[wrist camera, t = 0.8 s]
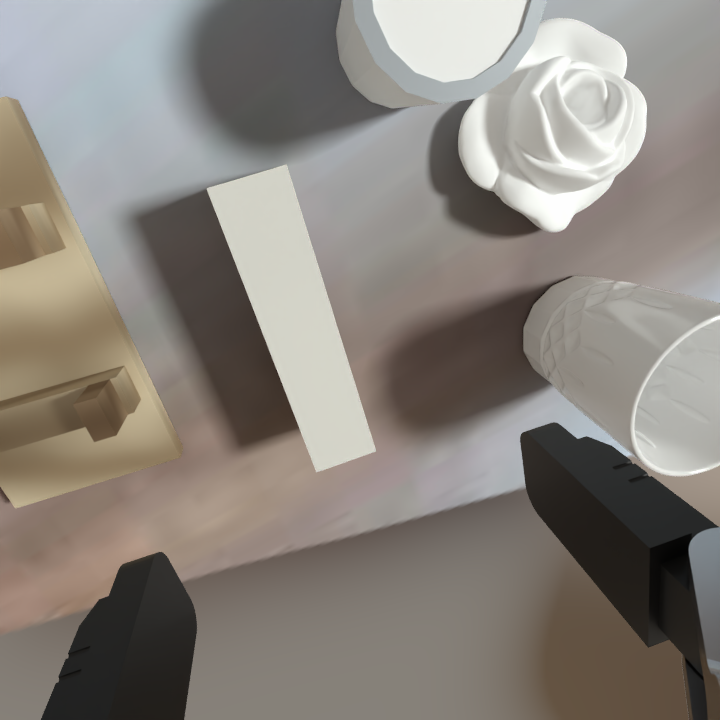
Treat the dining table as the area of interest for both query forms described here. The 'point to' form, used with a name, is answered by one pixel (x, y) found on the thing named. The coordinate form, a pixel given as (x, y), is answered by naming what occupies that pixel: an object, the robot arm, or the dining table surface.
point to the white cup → (634, 366)
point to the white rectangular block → (294, 312)
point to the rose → (555, 125)
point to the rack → (62, 344)
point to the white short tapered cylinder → (433, 47)
